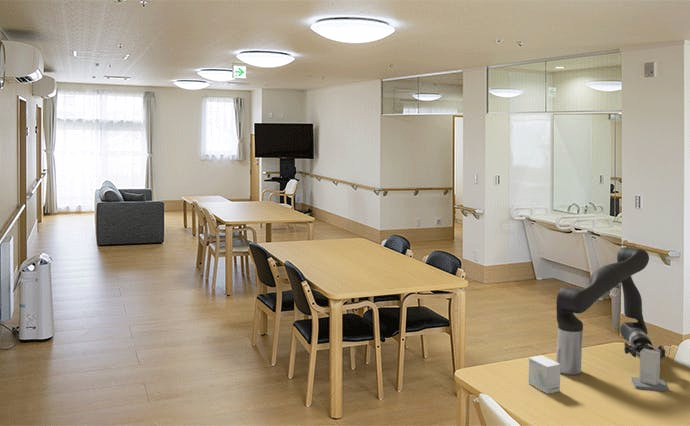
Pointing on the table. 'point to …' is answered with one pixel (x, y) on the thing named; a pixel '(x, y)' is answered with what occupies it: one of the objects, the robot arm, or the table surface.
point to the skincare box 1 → (544, 374)
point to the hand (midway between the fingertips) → (647, 356)
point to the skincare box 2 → (649, 366)
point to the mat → (649, 385)
